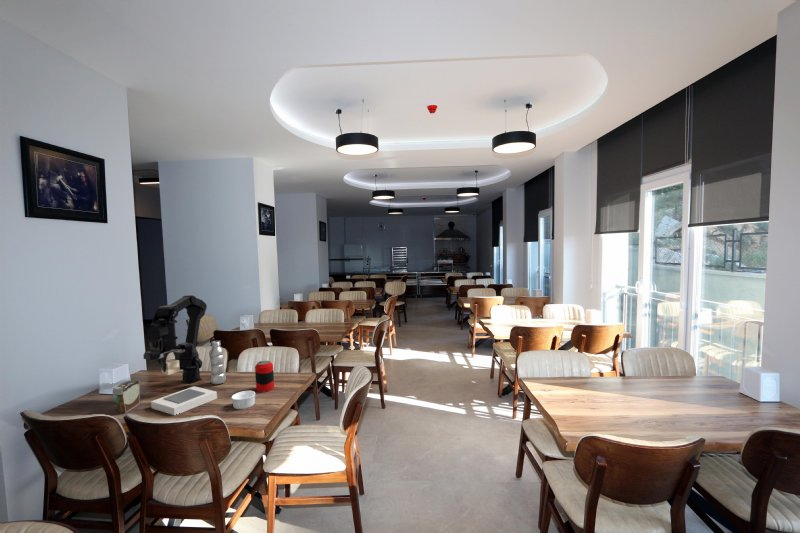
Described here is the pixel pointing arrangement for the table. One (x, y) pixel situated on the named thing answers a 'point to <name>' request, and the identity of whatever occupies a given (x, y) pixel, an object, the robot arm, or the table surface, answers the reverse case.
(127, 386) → the food container
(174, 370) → the birch block
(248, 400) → the ramekin
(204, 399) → the base
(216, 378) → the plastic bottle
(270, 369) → the soda can
